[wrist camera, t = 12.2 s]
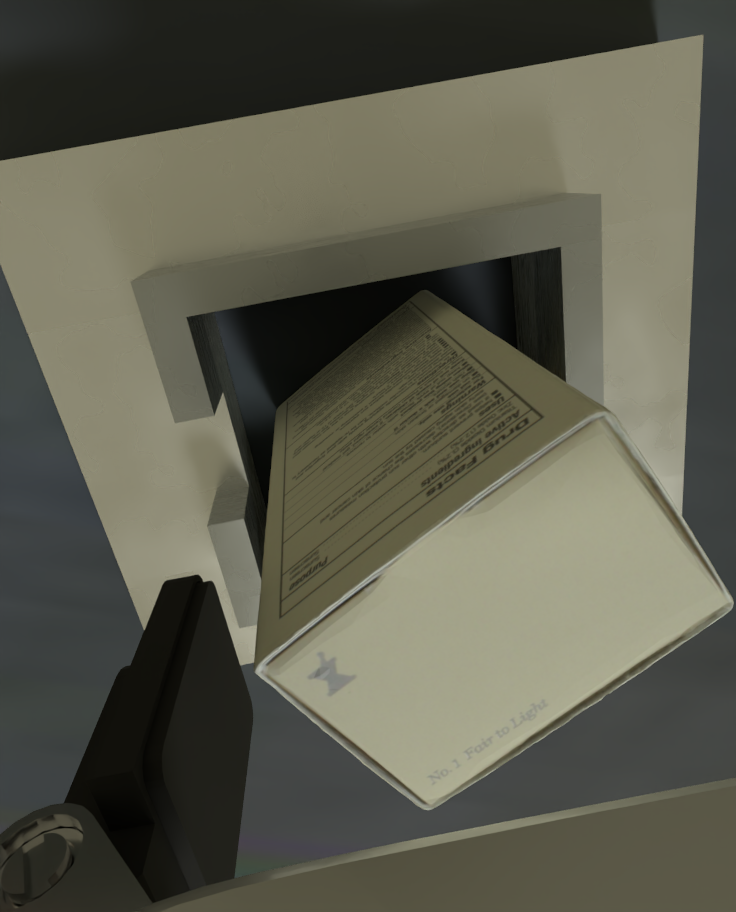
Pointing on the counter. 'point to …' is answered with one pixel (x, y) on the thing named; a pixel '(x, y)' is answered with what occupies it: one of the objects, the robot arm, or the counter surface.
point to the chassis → (349, 273)
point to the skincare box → (462, 553)
